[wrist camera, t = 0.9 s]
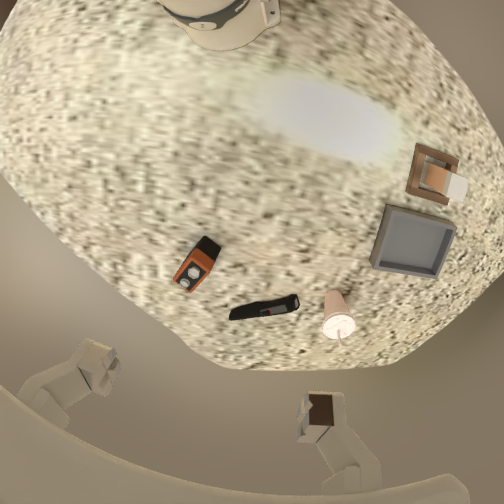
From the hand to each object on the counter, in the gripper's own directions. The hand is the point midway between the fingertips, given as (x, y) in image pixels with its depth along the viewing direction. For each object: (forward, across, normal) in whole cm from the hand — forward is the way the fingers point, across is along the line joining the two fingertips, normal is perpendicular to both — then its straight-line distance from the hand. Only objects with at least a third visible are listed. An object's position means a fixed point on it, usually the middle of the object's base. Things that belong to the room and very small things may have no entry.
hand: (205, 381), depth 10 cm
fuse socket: (+41, -30, -7) cm, 51 cm away
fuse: (+41, -30, -7) cm, 51 cm away
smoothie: (+41, -18, +23) cm, 50 cm away
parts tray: (+41, -30, +7) cm, 51 cm away
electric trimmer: (+41, -4, +29) cm, 50 cm away
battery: (+41, +10, +18) cm, 46 cm away
